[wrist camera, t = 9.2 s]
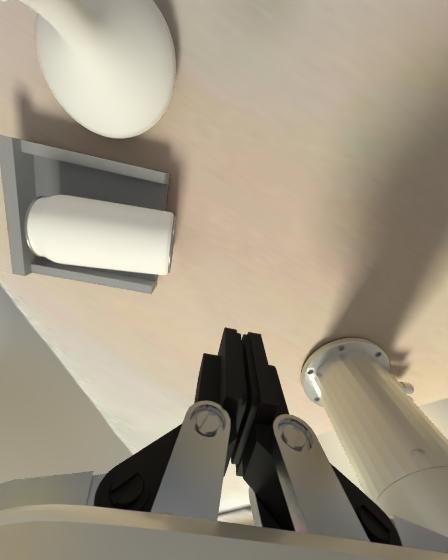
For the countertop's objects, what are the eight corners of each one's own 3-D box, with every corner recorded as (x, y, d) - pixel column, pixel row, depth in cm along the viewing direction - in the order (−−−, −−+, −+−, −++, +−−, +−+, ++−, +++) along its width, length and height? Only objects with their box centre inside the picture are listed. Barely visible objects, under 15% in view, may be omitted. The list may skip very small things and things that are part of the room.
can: (175, 227, 29) (64, 211, 26) (177, 201, 22) (31, 175, 20) (169, 280, 27) (51, 268, 25) (168, 268, 21) (12, 249, 19)
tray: (170, 173, 25) (163, 172, 22) (156, 285, 30) (149, 297, 27) (26, 140, 24) (-4, 134, 21) (36, 263, 28) (12, 273, 25)
